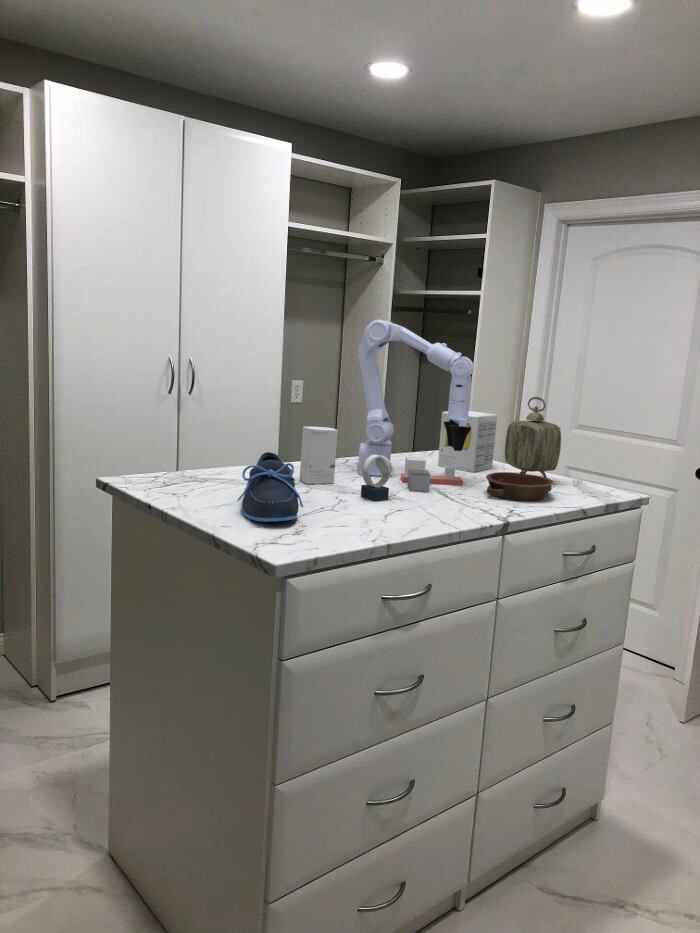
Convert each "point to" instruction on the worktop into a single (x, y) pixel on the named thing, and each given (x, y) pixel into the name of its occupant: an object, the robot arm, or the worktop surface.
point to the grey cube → (418, 480)
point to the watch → (378, 490)
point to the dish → (518, 486)
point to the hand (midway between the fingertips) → (454, 448)
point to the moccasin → (270, 490)
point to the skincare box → (318, 455)
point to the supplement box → (470, 444)
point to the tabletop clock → (533, 443)
